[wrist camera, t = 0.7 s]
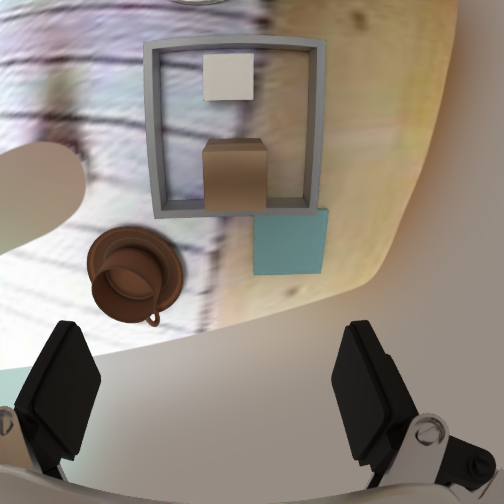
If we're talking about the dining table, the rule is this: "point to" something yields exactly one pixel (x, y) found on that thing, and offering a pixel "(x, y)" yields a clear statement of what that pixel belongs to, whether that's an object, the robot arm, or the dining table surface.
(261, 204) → the walnut block
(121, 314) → the cup and saucer
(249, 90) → the pale grey block
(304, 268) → the pad
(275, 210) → the grey square frame
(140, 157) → the dining table surface
